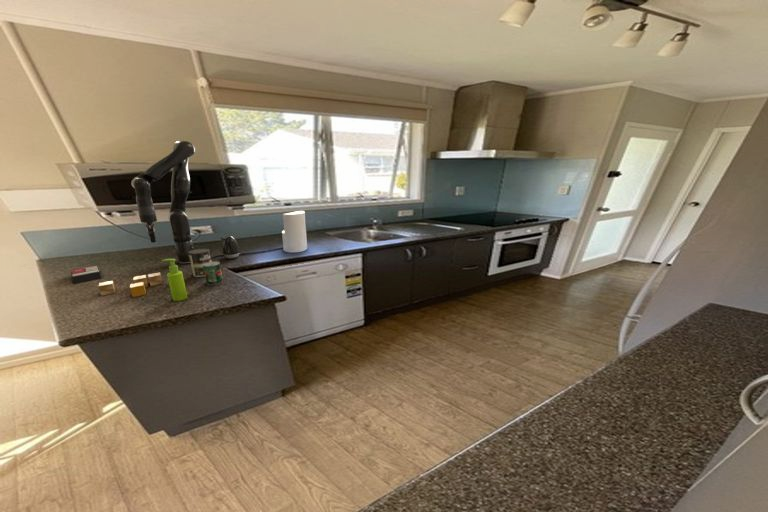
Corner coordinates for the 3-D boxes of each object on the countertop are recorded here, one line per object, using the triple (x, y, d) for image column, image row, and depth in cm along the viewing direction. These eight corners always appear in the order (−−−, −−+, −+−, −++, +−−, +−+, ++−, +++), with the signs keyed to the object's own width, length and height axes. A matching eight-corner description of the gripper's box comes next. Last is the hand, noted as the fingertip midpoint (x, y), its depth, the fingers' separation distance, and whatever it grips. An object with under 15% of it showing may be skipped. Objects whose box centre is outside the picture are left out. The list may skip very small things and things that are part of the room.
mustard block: (145, 290, 144) (143, 281, 143) (145, 294, 141) (143, 285, 139) (132, 293, 141) (130, 284, 140) (132, 297, 138) (129, 287, 136)
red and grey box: (97, 265, 167) (99, 270, 157) (99, 271, 169) (101, 277, 159) (70, 269, 160) (70, 275, 150) (73, 276, 161) (73, 283, 151)
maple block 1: (115, 289, 145) (112, 280, 144) (114, 292, 142) (112, 283, 140) (102, 292, 142) (99, 282, 141) (101, 295, 139) (98, 286, 137)
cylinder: (312, 248, 219) (309, 212, 210) (294, 253, 205) (291, 215, 196) (296, 244, 228) (293, 209, 219) (278, 249, 214) (274, 212, 205)
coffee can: (217, 271, 170) (213, 249, 166) (201, 278, 161) (197, 254, 156) (204, 269, 173) (200, 247, 169) (188, 275, 164) (183, 252, 160)
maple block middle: (148, 283, 153) (145, 274, 151) (148, 286, 149) (145, 277, 148) (136, 285, 150) (133, 276, 148) (135, 288, 146) (133, 279, 145)
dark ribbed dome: (225, 255, 198) (221, 234, 194) (241, 254, 201) (238, 233, 197) (222, 260, 189) (218, 238, 184) (239, 259, 192) (236, 237, 187)
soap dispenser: (175, 295, 140) (166, 257, 134) (190, 295, 140) (181, 257, 134) (167, 301, 134) (157, 261, 128) (183, 300, 135) (174, 261, 129)
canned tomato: (204, 282, 156) (201, 263, 152) (220, 278, 161) (217, 260, 158) (208, 286, 150) (205, 267, 147) (225, 282, 156) (221, 263, 152)
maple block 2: (162, 280, 157) (159, 272, 155) (162, 283, 153) (160, 275, 151) (150, 282, 154) (148, 274, 152) (150, 286, 150) (148, 277, 148)
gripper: (155, 214, 161) (161, 242, 166) (155, 211, 172) (161, 237, 177) (138, 216, 157) (145, 244, 162) (139, 212, 167) (145, 239, 172)
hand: (153, 240), depth 169 cm, fingers open, 8 cm apart
